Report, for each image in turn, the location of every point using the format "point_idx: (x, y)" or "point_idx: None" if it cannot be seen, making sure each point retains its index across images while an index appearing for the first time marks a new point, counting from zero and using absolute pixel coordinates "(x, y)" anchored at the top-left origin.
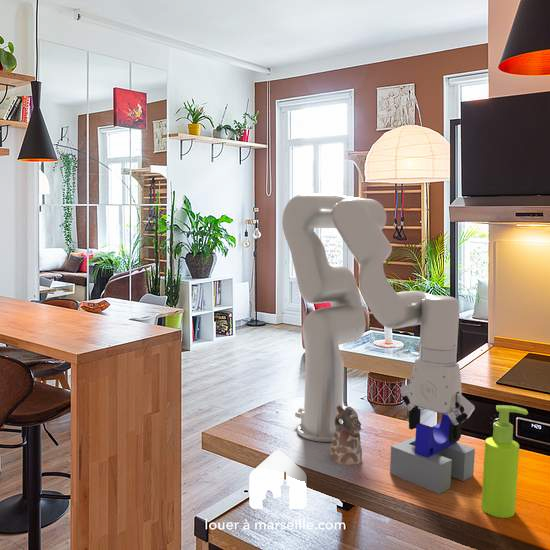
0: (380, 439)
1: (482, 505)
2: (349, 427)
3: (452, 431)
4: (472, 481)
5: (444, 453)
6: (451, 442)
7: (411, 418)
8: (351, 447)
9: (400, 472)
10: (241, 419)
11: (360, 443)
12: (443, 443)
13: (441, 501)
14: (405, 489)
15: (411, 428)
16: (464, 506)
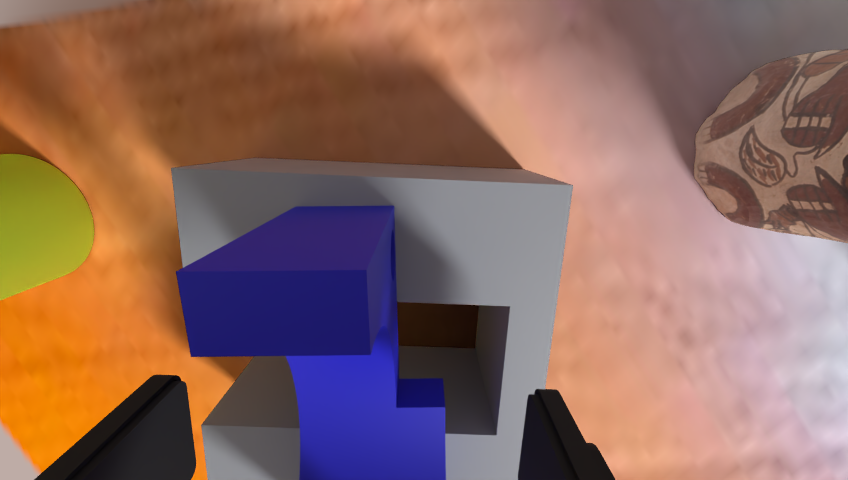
0: (740, 437)
1: (48, 174)
2: None
3: (77, 451)
4: (244, 365)
5: None
6: (155, 378)
7: (569, 462)
8: (806, 99)
9: (466, 168)
10: None
11: (786, 197)
12: (300, 409)
13: (207, 104)
14: (380, 80)
15: (535, 395)
16: (122, 141)
